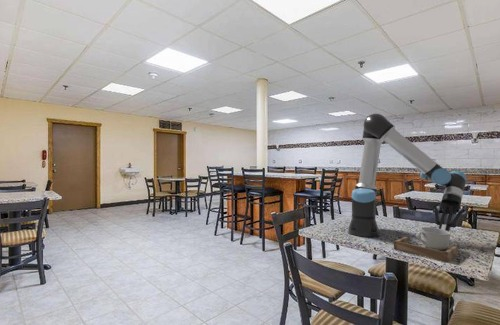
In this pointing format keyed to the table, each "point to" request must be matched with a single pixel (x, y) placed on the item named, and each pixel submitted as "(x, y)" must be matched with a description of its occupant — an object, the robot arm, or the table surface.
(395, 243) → the wooden tray
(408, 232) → the table surface
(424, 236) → the teacup
